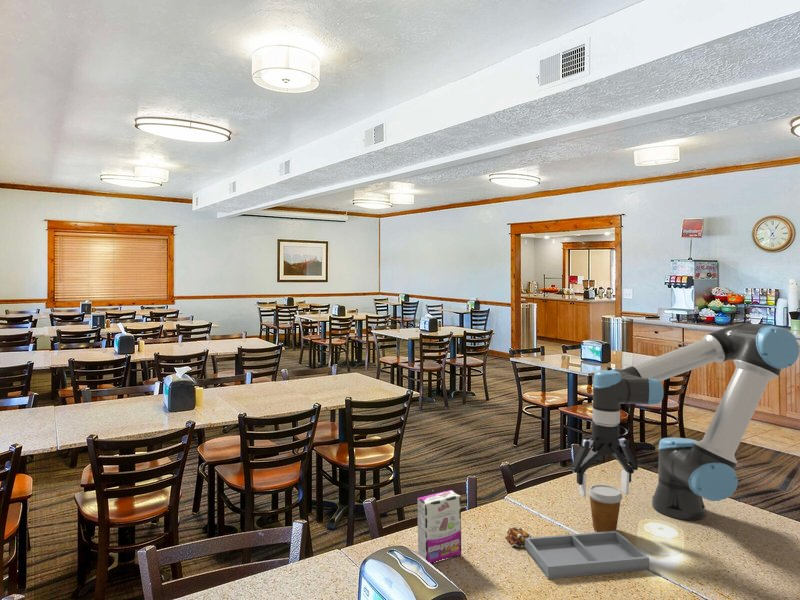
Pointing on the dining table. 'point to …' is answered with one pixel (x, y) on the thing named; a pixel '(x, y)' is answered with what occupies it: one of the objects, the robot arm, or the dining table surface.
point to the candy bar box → (439, 526)
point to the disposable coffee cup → (604, 507)
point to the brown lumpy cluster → (517, 536)
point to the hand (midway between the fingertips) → (603, 494)
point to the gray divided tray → (585, 554)
